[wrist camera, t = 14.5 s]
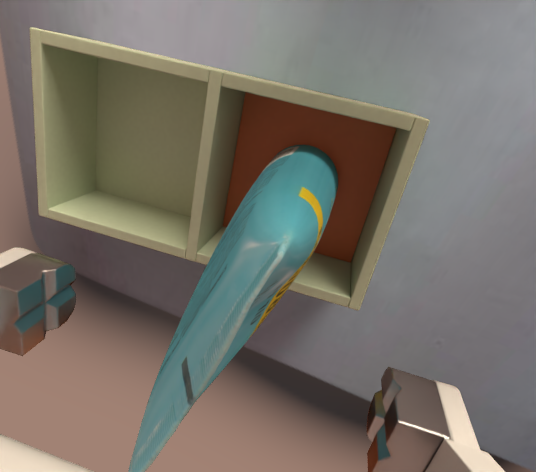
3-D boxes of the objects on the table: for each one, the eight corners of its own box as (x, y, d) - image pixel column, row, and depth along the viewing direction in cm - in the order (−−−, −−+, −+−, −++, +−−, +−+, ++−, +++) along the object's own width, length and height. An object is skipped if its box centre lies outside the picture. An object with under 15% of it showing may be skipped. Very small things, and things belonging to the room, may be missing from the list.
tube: (309, 240, 26) (220, 543, 9) (249, 210, 26) (40, 445, 9) (363, 144, 23) (393, 311, 6) (294, 110, 23) (111, 166, 6)
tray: (413, 113, 22) (430, 120, 17) (357, 269, 27) (358, 311, 22) (94, 40, 25) (28, 26, 20) (92, 194, 29) (38, 215, 24)
